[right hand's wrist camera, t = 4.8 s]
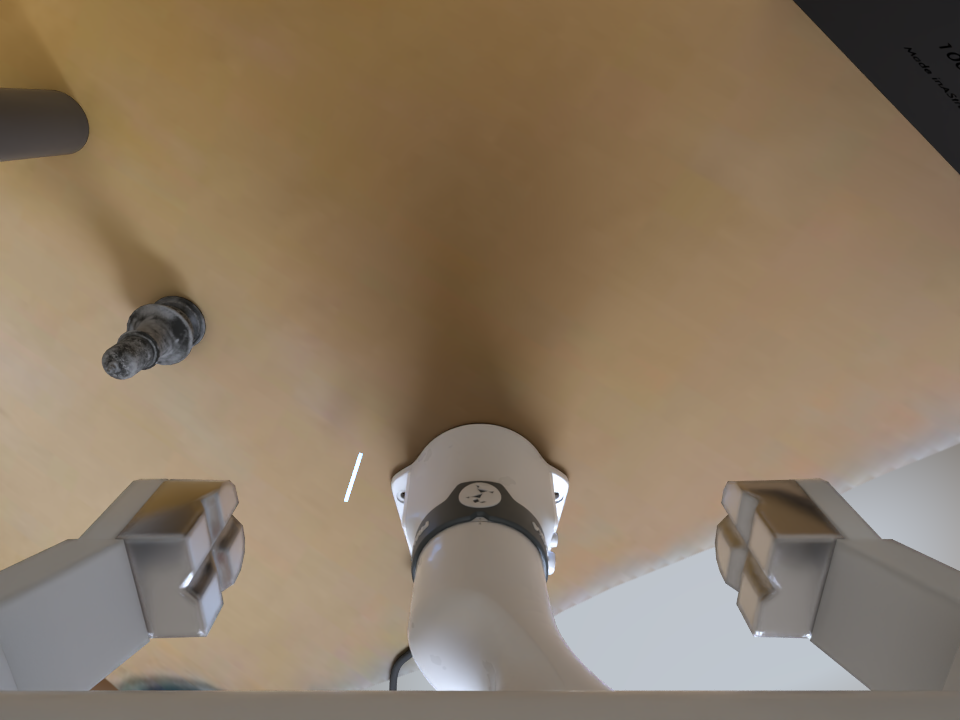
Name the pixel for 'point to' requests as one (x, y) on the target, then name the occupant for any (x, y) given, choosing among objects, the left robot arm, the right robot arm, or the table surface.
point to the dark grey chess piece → (155, 337)
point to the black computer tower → (904, 58)
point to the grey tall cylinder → (40, 124)
